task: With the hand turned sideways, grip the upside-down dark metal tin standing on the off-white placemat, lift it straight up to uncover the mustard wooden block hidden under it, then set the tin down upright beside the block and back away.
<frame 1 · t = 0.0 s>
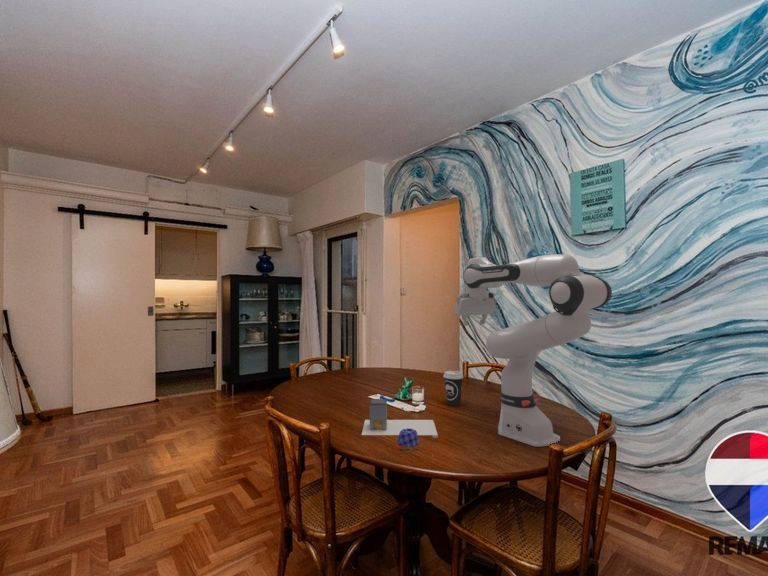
hand: (474, 324, 159), 39 cm above the table, tool pointing down, fingers open, 8 cm apart
pudding: (408, 446, 125), on the table
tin: (378, 427, 140), point 1 cm above the table, touching placemat
coffee cup: (453, 404, 171), on the table
block: (378, 427, 140), point 1 cm above the table, touching placemat
placemat: (399, 429, 140), on the table
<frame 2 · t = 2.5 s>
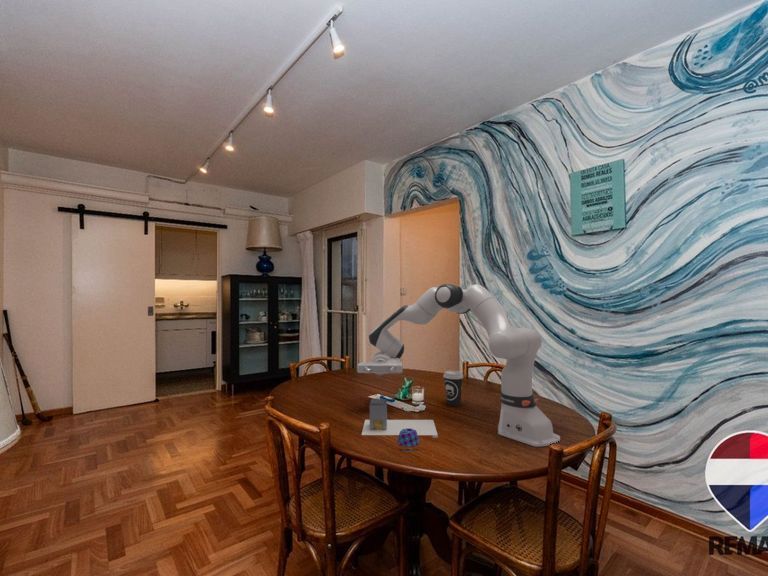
hand: (379, 371, 153), 20 cm above the table, tool horizontal, fingers open, 8 cm apart
nothing on the table moved.
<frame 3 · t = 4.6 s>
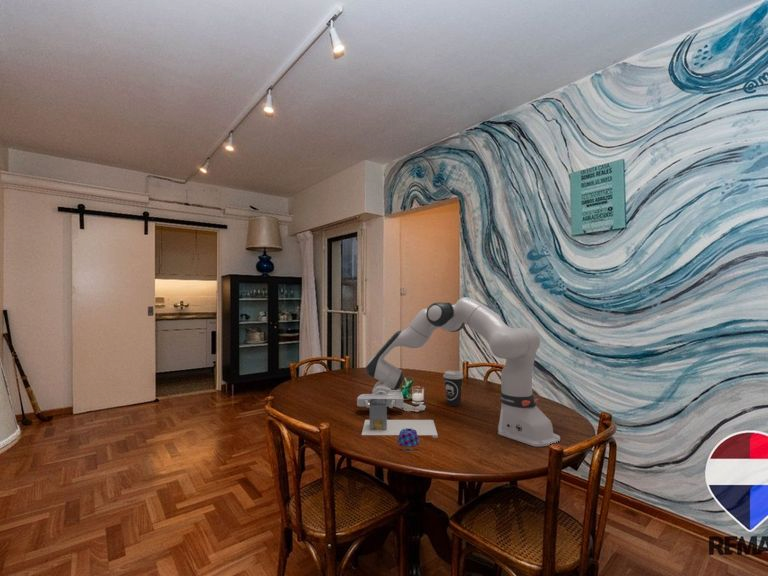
hand: (379, 405, 149), 6 cm above the table, tool horizontal, fingers open, 8 cm apart
nothing on the table moved.
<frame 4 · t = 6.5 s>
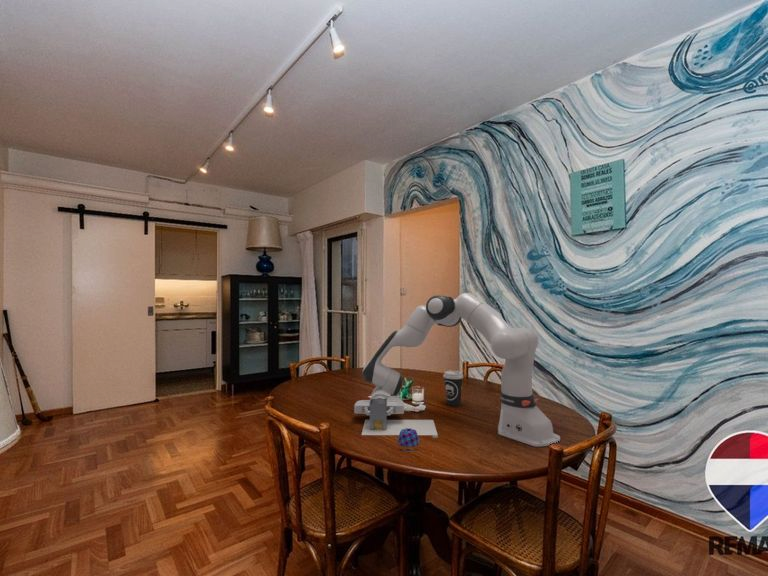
hand: (378, 413, 139), 7 cm above the table, tool horizontal, fingers closed on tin, 6 cm apart
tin: (378, 427, 140), point 1 cm above the table, touching gripper, placemat
everything else where it was.
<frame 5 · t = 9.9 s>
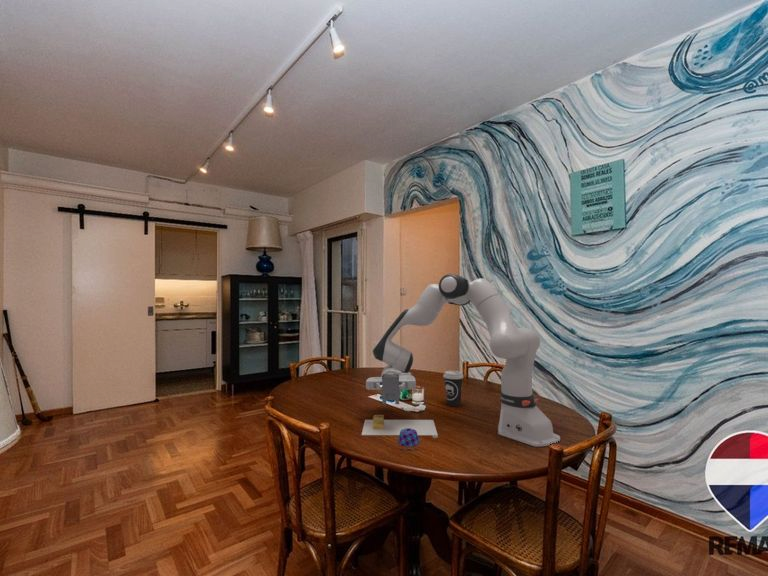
hand: (390, 388, 139), 16 cm above the table, tool horizontal, fingers closed on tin, 6 cm apart
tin: (390, 401, 139), point 11 cm above the table, touching gripper
everything else where it was.
when the fingers open (8 cm above the table, at t = 13.3 s): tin drops 1 cm, resting on placemat.
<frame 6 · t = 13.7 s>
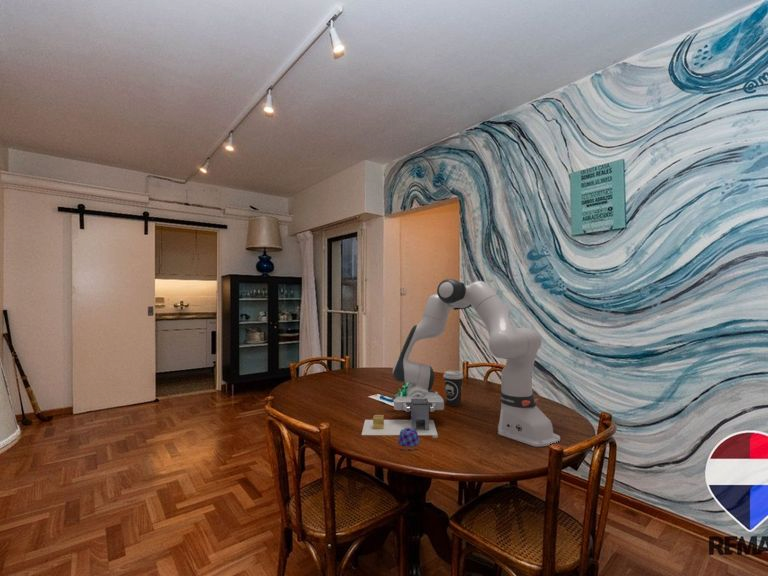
hand: (419, 409, 139), 8 cm above the table, tool horizontal, fingers open, 8 cm apart
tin: (420, 427, 140), point 1 cm above the table, touching placemat
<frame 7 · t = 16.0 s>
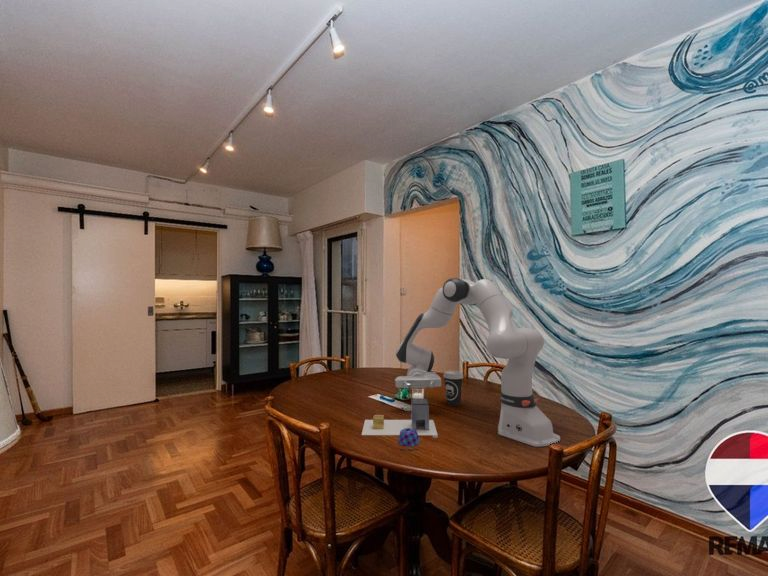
hand: (419, 386, 152), 14 cm above the table, tool horizontal, fingers open, 8 cm apart
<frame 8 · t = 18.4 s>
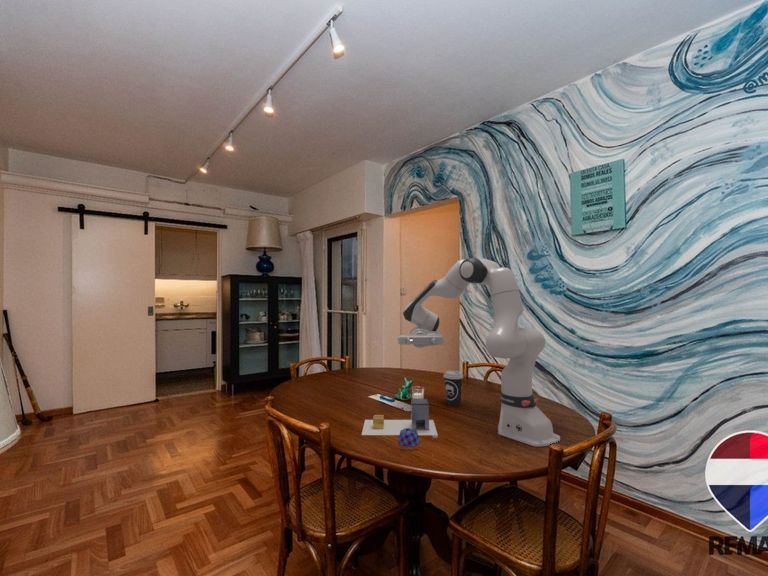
hand: (421, 341, 155), 32 cm above the table, tool horizontal, fingers open, 8 cm apart
at the end: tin inside the target area (0.0 cm from its centre), point 1.0 cm above the table; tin tilted 0°; block moved 0.0 cm from its start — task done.
